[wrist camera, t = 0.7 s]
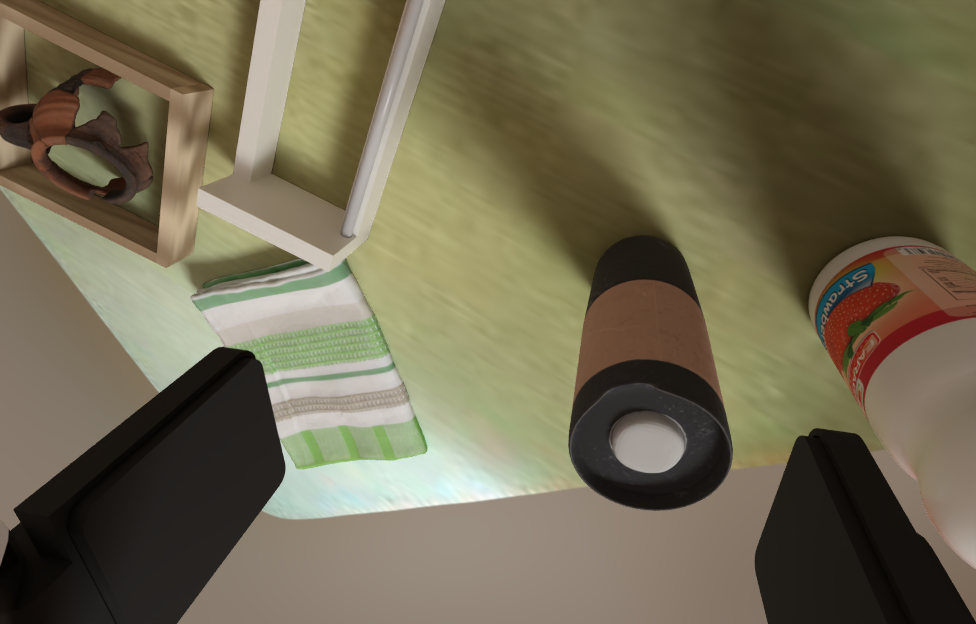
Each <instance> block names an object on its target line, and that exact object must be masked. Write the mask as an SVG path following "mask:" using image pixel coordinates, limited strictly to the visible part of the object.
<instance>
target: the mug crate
mask: <svg viewBox="0 0 976 624" xmlns="http://www.w3.org/2000/svg"><path fill="white" fill-rule="evenodd" d="M24 29H26V30H28V31H30V32H32V33H34V34H36V35H38V36H40V37H42V38H44V39H46V40H48V41H50V42H52V43H54V44H56V45H58V46H60V47H62V48H64V49H66V50H68V51H70V52H72V53H74V54H76V55H78V56H80V57H82V58H84V59H86V60H88V61H90V62H92V63H94V64H96V65H98V66H100V67H102V68H104V69H106V70H108V71H110V72H112V73H114V74H116V75H118V76H120V77H122V78H124V79H126V80H128V81H130V82H132V83H134V84H136V85H138V86H140V87H142V88H144V89H146V90H148V91H150V92H152V93H154V94H156V95H158V96H160V97H162V98H164V99H166V100H168V101H170V102H169V114H168V126H167V138H166V150H165V162H164V174H163V186H162V198H161V210H160V222H159V227H158V226H156V225H154V224H152V223H150V222H148V221H146V220H144V219H142V218H140V217H138V216H136V215H134V214H132V213H130V212H128V211H126V210H124V209H122V208H120V207H118V206H116V205H114V204H110V203H108V202H105V201H103V199H102V198H100V197H98V196H96V195H93V197H92V199H91V200H86V199H83V198H80V197H77V196H75V195H73V194H71V193H69V192H67V191H65V190H63V189H61V188H60V187H58V186H57V185H55V184H54V183H52V182H51V181H50V180H48V179H47V178H46V177H45V176H44V175H43V174H42V173H41V172H40V171H39V170H38V169H37V167H36V166H35V165H34V164H32V162H31V150H29V149H26V148H23V147H19V146H16V145H13V144H11V143H8V142H6V141H5V140H4V139H3V138H2V137H1V136H0V185H1V186H3V187H5V188H7V189H9V190H11V191H13V192H15V193H17V194H19V195H21V196H23V197H25V198H27V199H29V200H31V201H33V202H35V203H37V204H39V205H41V206H43V207H45V208H47V209H49V210H51V211H53V212H55V213H57V214H59V215H61V216H63V217H65V218H67V219H69V220H71V221H73V222H75V223H77V224H79V225H81V226H83V227H85V228H87V229H89V230H91V231H93V232H95V233H97V234H99V235H101V236H103V237H105V238H107V239H109V240H111V241H113V242H115V243H117V244H119V245H121V246H123V247H125V248H127V249H129V250H131V251H133V252H135V253H137V254H139V255H141V256H143V257H145V258H147V259H149V260H151V261H153V262H155V263H157V264H159V265H161V266H163V267H165V268H167V267H169V266H171V265H172V264H174V263H176V262H178V261H180V260H182V259H183V258H185V257H187V256H189V255H191V254H193V251H194V243H195V235H196V227H197V219H198V211H199V207H197V206H196V203H197V195H198V188H200V187H202V180H203V172H204V164H205V156H206V148H207V140H208V132H209V124H210V116H211V108H212V100H213V92H214V89H213V88H211V87H209V86H207V85H205V84H203V83H201V82H199V81H197V80H195V79H193V78H191V77H189V76H187V75H185V74H183V73H181V72H179V71H177V70H175V69H173V68H171V67H169V66H167V65H165V64H163V63H161V62H159V61H157V60H155V59H153V58H151V57H149V56H147V55H145V54H143V53H141V52H139V51H137V50H135V49H133V48H131V47H129V46H127V45H125V44H123V43H121V42H119V41H117V40H115V39H113V38H111V37H109V36H107V35H105V34H103V33H101V32H99V31H97V30H96V29H94V28H92V27H90V26H88V25H86V24H84V23H82V22H80V21H78V20H76V19H74V18H72V17H70V16H68V15H66V14H64V13H62V12H60V11H58V10H56V9H54V8H52V7H50V6H48V5H46V4H44V3H42V2H40V1H38V0H0V110H2V109H4V108H7V107H10V106H14V105H20V104H28V93H27V76H26V59H25V42H24Z"/></svg>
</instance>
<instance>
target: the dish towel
mask: <svg viewBox="0 0 976 624" xmlns="http://www.w3.org/2000/svg"><path fill="white" fill-rule="evenodd" d="M202 287H203V289H198V291H197V292H198V294H194V295H192V296H191V299H192V301H193V303H194V304H195V306H196V307H197V308H198V309H199V310H200V311H201V312H202V314H203V315H204V317H205V319H206V320H207V322H208V323H209V325H210V326H211V327H212V329H213V330H214V331H215V332H216V333H217V335H218V336H219V337H220V339H221V340H222V342H223V344H224V347H227V348H235V349H242V350H248V351H251V352H252V353H253V354H254V355H255V357H256V359H257V360H259V361H260V362H261V363H262V365H263V369H264V373H265V378H266V382H267V387H268V391H269V395H270V400H271V404H272V409H273V413H274V417H275V422H276V426H277V431H278V435H279V438H280V440H281V442H282V444H283V445H284V447H285V449H286V450H287V452H288V453H289V455H290V457H291V458H292V460H293V462H294V464H295V466H296V468H297V469H307V468H312V467H317V466H322V465H327V464H333V463H338V462H346V461H354V460H397V459H401V458H407V457H412V456H416V455H419V454H425V453H426V452H427V445H426V442H425V438H424V435H423V433H422V430H421V428H420V426H419V424H418V421H417V418H416V416H415V413H414V411H413V408H412V406H411V403H410V399H409V396H408V394H407V391H406V388H405V385H404V383H403V381H402V379H401V377H400V375H399V373H398V370H397V368H396V366H395V364H394V362H393V359H392V356H391V353H390V351H389V348H388V345H387V343H386V341H385V338H384V336H383V333H382V331H381V329H380V326H379V323H378V321H377V319H376V316H375V314H374V313H373V312H372V310H371V308H370V306H369V304H368V302H367V301H366V299H365V296H364V294H363V293H362V290H361V288H360V286H359V284H358V283H357V281H356V279H355V277H354V276H353V274H352V273H351V271H350V268H349V266H348V264H347V261H346V259H344V260H342V261H341V262H340V263H339V264H338V265H337V266H335V267H334V268H333V269H332V270H331V271H329V272H327V271H325V270H323V269H321V268H319V267H317V266H315V265H313V264H311V263H309V262H307V261H305V260H303V259H301V258H299V259H295V260H291V261H288V262H285V263H281V264H278V265H273V266H270V267H267V268H263V269H257V270H254V271H250V272H246V273H241V274H232V275H229V276H226V277H222V278H217V279H214V280H212V281H210V282H207V283H204V284H203V285H202Z"/></svg>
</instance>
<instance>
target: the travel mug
mask: <svg viewBox="0 0 976 624" xmlns="http://www.w3.org/2000/svg"><path fill="white" fill-rule="evenodd" d="M568 446H569V453H570V457H571V461H572V463H573V465H574V468H575V470H576V471H577V473H578V474H579V476H580V477H581V478H582V480H583V481H584V482H585V483H586V484H587V485H588V486H589V487H590V488H591V489H593V490H594V491H595V492H597V493H598V494H600V495H601V496H603V497H605V498H606V499H608V500H611V501H613V502H615V503H618V504H620V505H623V506H627V507H631V508H635V509H642V510H653V511H654V510H655V511H657V510H658V511H659V510H671V509H677V508H681V507H686V506H688V505H691V504H694V503H696V502H698V501H700V500H703V499H704V498H706V497H707V496H709V495H710V494H712V493H713V492H714V491H715V490H716V489H717V488H718V487H719V486H720V485H721V484H722V483H723V481H724V480H725V478H726V476H727V474H728V472H729V470H730V467H731V463H732V455H733V448H732V441H731V435H730V430H729V426H728V422H727V417H726V413H725V408H724V404H723V399H722V395H721V390H720V386H719V381H718V377H717V372H716V368H715V363H714V359H713V354H712V350H711V345H710V341H709V336H708V332H707V327H706V323H705V319H704V316H703V313H702V310H701V306H700V303H699V300H698V297H697V294H696V291H695V287H694V284H693V281H692V278H691V275H690V272H689V269H688V266H687V263H686V261H685V259H684V257H683V256H682V254H681V253H680V252H679V251H678V250H677V249H676V248H675V247H674V246H673V245H671V244H670V243H668V242H666V241H664V240H662V239H659V238H656V237H651V236H634V237H629V238H626V239H623V240H621V241H619V242H617V243H616V244H614V245H613V246H611V247H610V248H609V249H608V250H607V251H606V252H605V253H604V254H603V256H602V257H601V258H600V260H599V262H598V265H597V267H596V270H595V274H594V278H593V283H592V287H591V292H590V297H589V301H588V306H587V310H586V315H585V320H584V325H583V332H582V339H581V347H580V354H579V362H578V369H577V377H576V385H575V392H574V400H573V407H572V415H571V422H570V430H569V445H568Z"/></svg>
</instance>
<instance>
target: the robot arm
mask: <svg viewBox="0 0 976 624" xmlns="http://www.w3.org/2000/svg"><path fill="white" fill-rule="evenodd" d="M284 475H285V461H284V457H283V453H282V448H281V444H280V439H279V435H278V431H277V426H276V422H275V417H274V413H273V409H272V404H271V400H270V395H269V391H268V387H267V382H266V378H265V373H264V369H263V365H262V363H261V362H260V361H259V360H257V359H256V357H255V355H254V354H253V353H252V352H251V351H248V350H242V349H235V348H227V347H218V348H216V349H215V350H213V351H212V352H211V353H209V354H208V355H207V356H205V357H204V358H203V359H202V360H200V361H199V362H198V363H197V364H195V365H194V366H193V367H192V368H190V369H189V370H188V371H187V372H185V373H184V374H183V375H182V376H180V377H179V378H178V379H177V380H175V381H174V382H173V383H172V384H170V385H169V386H168V387H167V388H165V389H164V390H163V391H161V392H160V393H159V394H158V395H156V396H155V397H154V398H153V399H152V400H150V401H149V402H148V403H146V404H145V405H144V406H143V407H141V408H140V409H139V410H138V411H136V412H135V413H134V414H133V415H131V416H130V417H129V418H128V419H126V420H125V421H124V422H123V423H121V424H120V425H119V426H118V427H116V428H115V429H114V430H112V431H111V432H110V433H109V434H107V435H106V436H105V437H104V438H102V439H101V440H100V441H99V442H97V443H96V444H95V445H94V446H92V447H91V448H90V449H89V450H87V451H86V452H85V453H84V454H82V455H81V456H80V457H79V458H77V459H76V460H75V461H74V462H72V463H71V464H70V465H68V466H67V467H66V468H65V469H63V470H62V471H61V472H60V473H58V474H57V475H56V476H55V477H53V478H52V479H51V480H50V481H48V482H47V483H46V484H45V485H43V486H42V487H41V488H40V489H38V490H37V491H36V492H35V493H33V494H32V495H31V496H29V497H28V498H27V499H26V500H25V501H23V502H22V503H21V504H20V505H18V506H17V507H16V508H14V512H15V513H16V515H17V517H18V519H19V520H20V523H19V524H18V525H17V526H16V527H15V528H13V529H12V530H11V531H10V530H9V529H8V527H7V526H6V525H5V524H4V522H3V521H0V624H177V623H178V621H179V620H180V619H181V617H182V616H183V615H184V613H185V612H186V611H187V609H188V608H189V607H190V605H191V604H192V603H193V601H194V600H195V598H196V597H197V596H198V595H199V593H200V592H201V591H202V589H203V588H204V586H205V585H206V584H207V582H208V581H209V580H210V578H211V577H212V576H213V574H214V573H215V572H216V570H217V569H218V567H219V566H220V565H221V564H222V562H223V561H224V560H225V558H226V557H227V555H228V554H229V553H230V552H231V550H232V549H233V548H234V546H235V545H236V543H237V542H238V541H239V539H240V538H241V537H242V535H243V534H244V533H245V531H246V530H247V529H248V527H249V526H250V525H251V523H252V522H253V521H254V519H255V518H256V516H257V515H258V514H259V512H260V511H261V510H262V509H263V507H264V506H265V505H266V503H267V502H268V501H269V499H270V498H271V496H272V495H273V494H274V492H275V491H276V490H277V488H278V487H279V486H280V484H281V482H282V480H283V478H284ZM755 571H756V576H757V580H758V585H759V588H760V593H761V597H762V601H763V605H764V609H765V614H766V618H767V622H768V624H976V622H975V620H974V618H973V617H972V615H971V613H970V611H969V610H968V608H967V607H966V605H965V603H964V601H963V600H962V598H961V596H960V595H959V593H958V591H957V589H956V588H955V586H954V584H953V583H952V581H951V579H950V578H949V576H948V574H947V573H946V571H945V569H944V567H943V566H942V564H941V562H940V561H939V559H938V557H937V556H936V554H935V552H934V551H933V549H932V547H931V546H930V545H929V543H928V542H927V541H926V540H925V538H924V537H922V536H921V535H919V534H918V533H916V531H915V529H914V528H913V526H912V524H911V523H910V521H909V519H908V517H907V516H906V514H905V512H904V511H903V509H902V507H901V505H900V504H899V502H898V500H897V499H896V497H895V495H894V493H893V491H892V490H891V488H890V486H889V484H888V483H887V481H886V479H885V478H884V476H883V474H882V472H881V471H880V469H879V467H878V465H877V464H876V462H875V460H874V458H873V457H872V455H871V453H870V451H869V450H868V448H867V446H866V445H865V443H864V441H863V440H862V438H861V437H860V436H859V435H857V434H855V433H848V432H841V431H833V430H826V429H819V428H816V429H813V430H812V431H811V432H810V434H809V436H799V437H798V438H797V439H796V441H795V444H794V446H793V449H792V452H791V455H790V458H789V460H788V463H787V466H786V469H785V471H784V474H783V477H782V480H781V483H780V485H779V488H778V491H777V493H776V496H775V499H774V502H773V505H772V507H771V510H770V513H769V516H768V518H767V521H766V524H765V527H764V529H763V532H762V535H761V538H760V540H759V543H758V546H757V549H756V553H755Z"/></svg>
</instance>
